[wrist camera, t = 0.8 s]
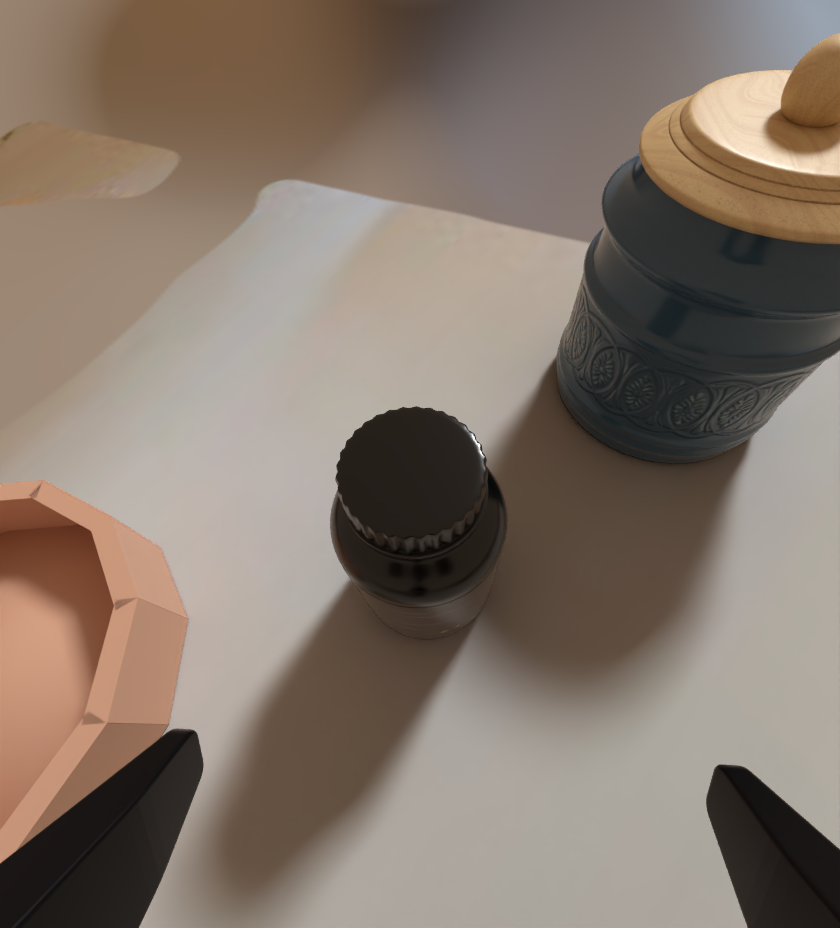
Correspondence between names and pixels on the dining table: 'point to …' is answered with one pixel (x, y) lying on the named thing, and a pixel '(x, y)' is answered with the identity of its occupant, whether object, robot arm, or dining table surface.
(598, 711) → the dining table surface
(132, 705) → the terracotta bowl
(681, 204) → the canister
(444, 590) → the supplement bottle
